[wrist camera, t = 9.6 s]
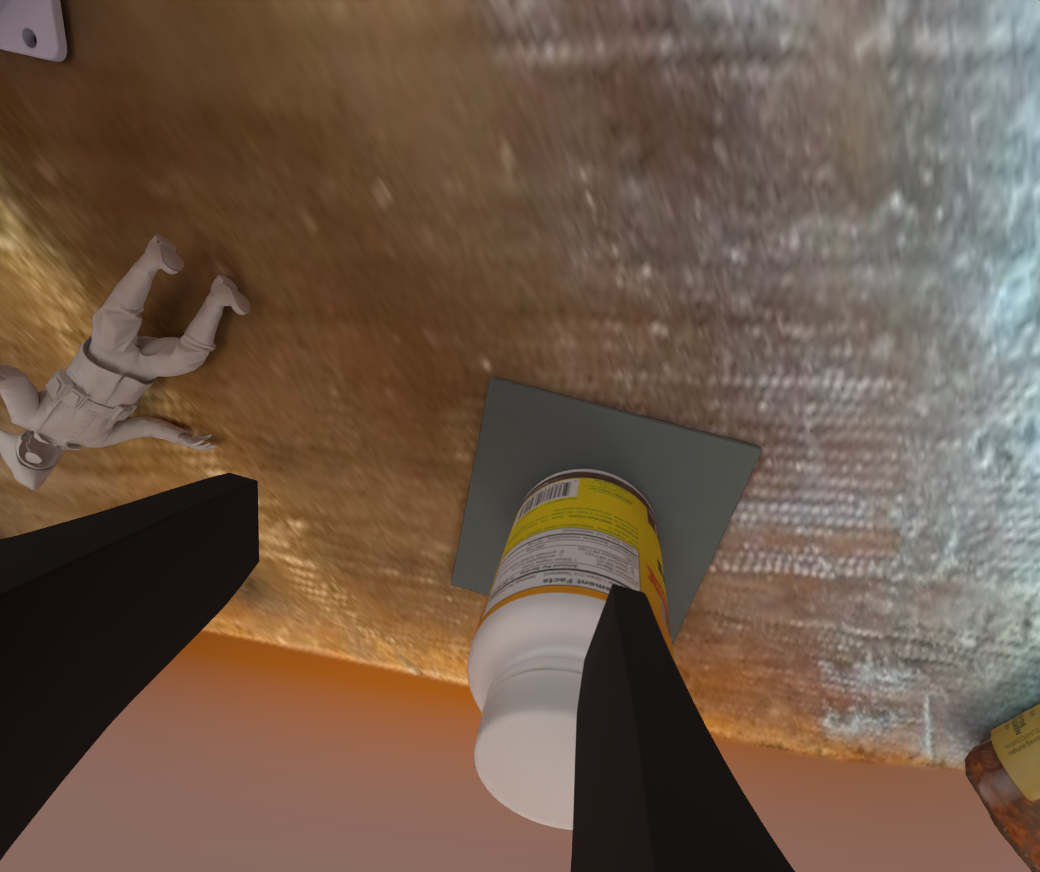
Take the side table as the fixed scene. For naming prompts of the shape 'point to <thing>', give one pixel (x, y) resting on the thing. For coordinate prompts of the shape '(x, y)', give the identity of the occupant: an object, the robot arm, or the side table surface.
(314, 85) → the side table surface
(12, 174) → the side table surface
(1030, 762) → the sauce bottle
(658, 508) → the mat
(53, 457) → the soldier figure
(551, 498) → the supplement bottle
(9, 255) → the side table surface
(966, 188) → the side table surface
